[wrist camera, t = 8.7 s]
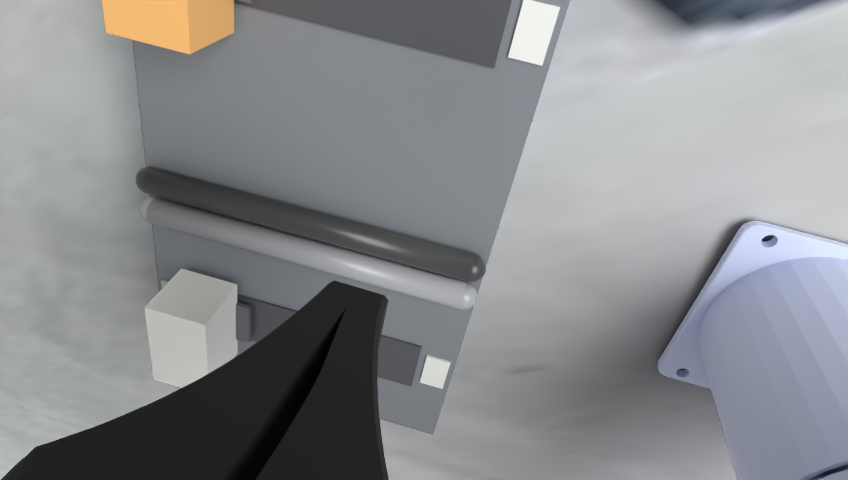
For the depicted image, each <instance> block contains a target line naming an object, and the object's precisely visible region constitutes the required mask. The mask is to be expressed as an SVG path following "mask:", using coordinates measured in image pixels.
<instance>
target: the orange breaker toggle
mask: <svg viewBox="0 0 848 480" xmlns="http://www.w3.org/2000/svg"><path fill="white" fill-rule="evenodd" d="M238 1H242V2H246V3H250V4H252V3H254V0H238ZM102 6H103V13H104V21H105V28H106V33H109V34H113V35H117V36H120V37H124V38H128V39H132V40H136V41H140V42H144V43H147V44H151V45H155V46H159V47H163V48H167V49H171V50H175V51H178V52H182V53H186V54H192V53H194V52H196V51H198V50H200V49H202V48H204V47H206V46H208V45H210V44H212V43H214V42H216V41H218V40H220V39H222V38H224V37H226V36H228V35H230V34H232V33H234V0H102Z"/></svg>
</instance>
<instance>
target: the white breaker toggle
mask: <svg viewBox="0 0 848 480" xmlns="http://www.w3.org/2000/svg"><path fill="white" fill-rule="evenodd" d="M144 310H145V318H146V326H147V333H148V341H149V349H150V356H151V364H152V372H153V380H157V381H160V382H163V383H167V384H170V385H173V386H177V387H180V388H183V387H185V386H187V385H189V384H190V383H192V382H194V381H196V380H198V379H200V378H202V377H203V376H205V375H207V374H209V373H210V372H212V371H214V370H215V369H217V368H219V367H220V366H222V365H224V364H225V363H227V362H228V361H230V360H232V359H233V358H235V356H236V355H237V353H238V343H237V340H240V341H243V342H247V343H249V342H250V341H251V316H252V306H250V305H247V304H243V303H240V302H237V284H235V283H231V282H227V281H224V280H220V279H217V278H213V277H210V276H206V275H203V274H199V273H196V272H192V271H189V270H185V269H180V270H179V271H178V272H177V274H176V275H175V276H174V277H173V278H172V279H171V280H170V281H169V282H168V283H167V284H166V285H165V286H164V287H163V288H162V289H161V290H160V291H159V292H158V293H157V295H156V296H155V297H154V298H153V299H152V300H151V301H150V302H149V303H148V304H147V305H146V306H145V307H144Z"/></svg>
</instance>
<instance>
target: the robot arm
mask: <svg viewBox="0 0 848 480" xmlns="http://www.w3.org/2000/svg"><path fill="white" fill-rule="evenodd" d="M768 235H774V237H773V238H772V239H771V240H769V241H767V242H766V241H762V239H763V238H764V237H765V236H768ZM387 305H388V299H387V298H386V296H385V295H382V294H379V293H375V292H372V291H369V290H365V289H362V288H358V287H355V286H352V285H348V284H345V283H342V282H338V281H335V280H334V281H332V282H330V283H328V284H327V285H326V286H325V287H324V288H323V289H322V290H321V291H320V292H319V293H318V294H317V295H316V296H315V297H313V298H312V299H311V300H310V301H309V302H308V303H307V304H306V305H304V306H303V307H302V308H301V309H300V310H298V311H297V312H296V313H295V314H294V315H292V316H291V317H290V318H289V319H287V320H286V321H285V322H283V323H282V324H281V325H280V326H278V327H277V328H276V329H275V330H273V331H272V332H271V333H269V334H268V335H267V336H265V337H264V338H262V339H261V340H259V341H258V342H257V343H255V344H254V345H252V346H251V347H249V348H248V349H247V350H245V351H244V352H242V353H241V354H239V355H238V356H236V357H235V358H233V359H232V360H230V361H228V362H227V363H225V364H224V365H222V366H220V367H219V368H217V369H215V370H214V371H212V372H210V373H209V374H207V375H205V376H203V377H202V378H200V379H198V380H196V381H194V382H192V383H190V384H189V385H187V386H185V387H183V388H181V389H179V390H177V391H175V392H173V393H171V394H169V395H167V396H165V397H163V398H161V399H159V400H157V401H155V402H153V403H150V404H148V405H146V406H143V407H141V408H139V409H136V410H134V411H132V412H130V413H127V414H125V415H123V416H120V417H118V418H116V419H113V420H111V421H109V422H106V423H103V424H101V425H98V426H96V427H93V428H90V429H87V430H84V431H81V432H79V433H76V434H73V435H70V436H67V437H64V438H61V439H59V440H56V441H53V442H50V443H47V444H44V445H40V446H37V447H35V448H34V449H33V450H32V451H31V452H30V453H29V454H28V455H27V456H26V457H25V458H23V459H22V460H21V461H20V462H19V463H18V464H16V465H15V466H14V467H13V468H12V469H11V470H10V471H9V472H8V473H7V474H6V475H5V476H4V477H3V478H2V479H1V480H389V479H388V474H387V469H386V464H385V458H384V451H383V444H382V437H381V428H380V419H379V406H378V384H377V367H378V348H379V343H380V338H381V334H382V329H383V324H384V320H385V315H386V310H387ZM682 368H683V369H685V370H683V371H679V370H678V369H682ZM658 369H659V372H660V373H661V374H662V375H663V376H666V377H669V378H673V379H676V380H680V381H683V382H687V383H690V384H694V385H698V386H701V387H705V388H708V389H711V391H712V395H713V398H714V401H715V405H716V408H717V412H718V415H719V418H720V422H721V425H722V429H723V432H724V436H725V439H726V442H727V446H728V449H729V453H730V456H731V459H732V463H733V466H734V470H735V473H736V477H737V480H848V244H846V243H842V242H838V241H834V240H830V239H827V238H823V237H819V236H815V235H811V234H807V233H804V232H800V231H796V230H792V229H788V228H784V227H780V226H777V225H773V224H769V223H765V222H761V221H750V222H747V223H745V224H743V225H742V226H741V227H740V228H739V230H738V231H737V233H736V235H735V236H734V238H733V240H732V241H731V243H730V244H729V246H728V248H727V249H726V251H725V253H724V254H723V256H722V257H721V259H720V261H719V262H718V264H717V266H716V267H715V269H714V271H713V272H712V274H711V275H710V277H709V279H708V280H707V282H706V284H705V285H704V287H703V289H702V290H701V292H700V293H699V295H698V297H697V298H696V300H695V302H694V303H693V305H692V307H691V308H690V310H689V311H688V313H687V315H686V316H685V318H684V320H683V321H682V323H681V325H680V326H679V328H678V329H677V331H676V333H675V334H674V336H673V338H672V339H671V341H670V342H669V344H668V346H667V347H666V349H665V351H664V352H663V354H662V356H661V357H660V359H659V360H658Z"/></svg>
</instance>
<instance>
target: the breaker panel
mask: <svg viewBox="0 0 848 480" xmlns="http://www.w3.org/2000/svg"><path fill="white" fill-rule="evenodd" d="M569 2H570V0H254V3H252V4H250V3H246V2H242V1H238V0H234V33H232V34H230V35H228V36H226V37H224V38H222V39H220V40H218V41H216V42H214V43H212V44H210V45H208V46H206V47H204V48H202V49H200V50H198V51H196V52H194V53H192V54H186V53H182V52H178V51H175V50H171V49H167V48H163V47H159V46H155V45H151V44H147V43H144V42H140V41H136V40H133V49H134V58H135V67H136V77H137V86H138V95H139V105H140V114H141V123H142V133H143V142H144V152H145V161H146V167H144V168H143V169H141V170H140V171H139V172H138V173H137V175H136V184H137V186H138V188H139V189H140V190H141V191H143V192H145V193H147V194H149V198H147V199H145V200H144V201H143V202H142V203H141V205H140V208H139V211H140V215H141V217H142V218H143V219H144V220H145V221H147V222H149V223H152V226H153V236H154V245H155V254H156V264H157V273H158V282H159V291H160V290H161V289H162V288H163V287H164V286H165V285H166V284H167V283H168V282H169V281H170V280H171V279H172V278H173V277H174V276H175V275H176V274H177V272H178V271H179V270H180V269H185V270H189V271H192V272H196V273H199V274H203V275H206V276H210V277H213V278H217V279H220V280H224V281H227V282H231V283H235V284H237V302H240V303H243V304H247V305H250V306H252V316H251V341H250V342H249V343H247V342H243V341H240V340H237V343H238V353H237V355H236V356H238V355H239V354H241V353H242V352H244V351H245V350H247V349H248V348H249V347H251V346H252V345H254V344H255V343H257V342H258V341H259V340H261V339H262V338H264V337H265V336H267V335H268V334H269V333H271V332H272V331H273V330H275V329H276V328H277V327H278V326H280V325H281V324H282V323H283V322H285V321H286V320H287V319H289V318H290V317H291V316H292V315H294V314H295V313H296V312H297V311H298V310H300V309H301V308H302V307H303V306H304V305H306V304H307V303H308V302H309V301H310V300H311V299H312V298H313V297H315V296H316V295H317V294H318V293H319V292H320V291H321V290H322V289H323V288H324V287H325V286H326V285H327V284H328V283H330V282H332V281H334V280H335V281H338V282H342V283H345V284H348V285H352V286H355V287H358V288H362V289H365V290H369V291H372V292H375V293H379V294H382V295H385V296H386V298H387V299H388V305H387V310H386V315H385V320H384V324H383V329H382V334H381V338H380V343H379V348H378V367H377V384H378V406H379V419H382V420H385V421H389V422H392V423H395V424H399V425H402V426H406V427H409V428H412V429H416V430H419V431H423V432H426V433H430V434H433V432H434V429H435V426H436V423H437V420H438V417H439V413H440V410H441V407H442V404H443V401H444V398H445V394H446V391H447V388H448V385H449V382H450V379H451V375H452V372H453V369H454V366H455V363H456V360H457V356H458V353H459V350H460V347H461V344H462V341H463V338H464V334H465V331H466V328H467V325H468V322H469V319H470V315H471V312H472V309H473V306H474V304H475V302H476V300H477V293H478V290H479V287H480V284H481V281H482V277H483V276H484V274H485V271H486V265H487V262H488V258H489V255H490V252H491V249H492V246H493V243H494V239H495V236H496V233H497V230H498V227H499V224H500V220H501V217H502V214H503V211H504V208H505V205H506V201H507V198H508V195H509V192H510V189H511V186H512V182H513V179H514V176H515V173H516V170H517V167H518V163H519V160H520V157H521V154H522V151H523V148H524V145H525V141H526V138H527V135H528V132H529V129H530V126H531V122H532V119H533V116H534V113H535V110H536V107H537V103H538V100H539V97H540V94H541V91H542V88H543V84H544V81H545V78H546V75H547V72H548V69H549V65H550V62H551V59H552V56H553V53H554V50H555V46H556V43H557V40H558V37H559V34H560V31H561V27H562V24H563V21H564V18H565V15H566V12H567V8H568V5H569ZM236 356H235V357H236Z"/></svg>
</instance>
